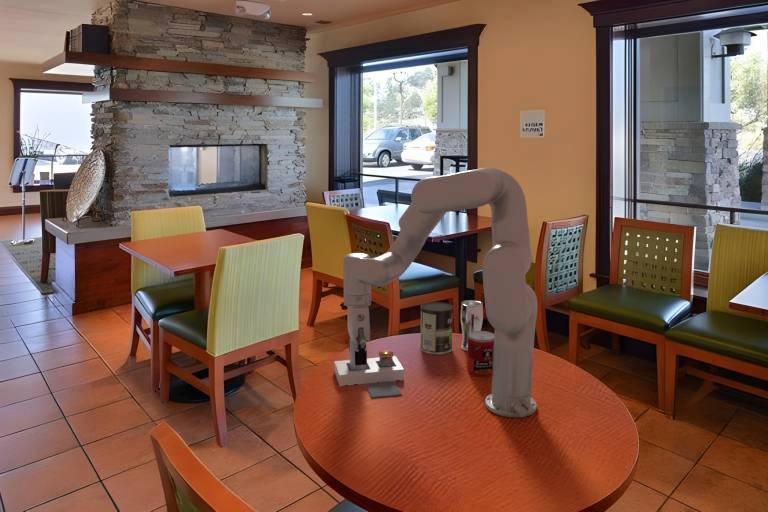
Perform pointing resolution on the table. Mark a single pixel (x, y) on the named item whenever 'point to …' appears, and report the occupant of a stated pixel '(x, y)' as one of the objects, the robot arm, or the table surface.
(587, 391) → the table surface
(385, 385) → the mat
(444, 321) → the coffee can
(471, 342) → the canned food
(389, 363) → the plunger
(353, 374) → the housing
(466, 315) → the beer glass
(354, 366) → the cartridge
